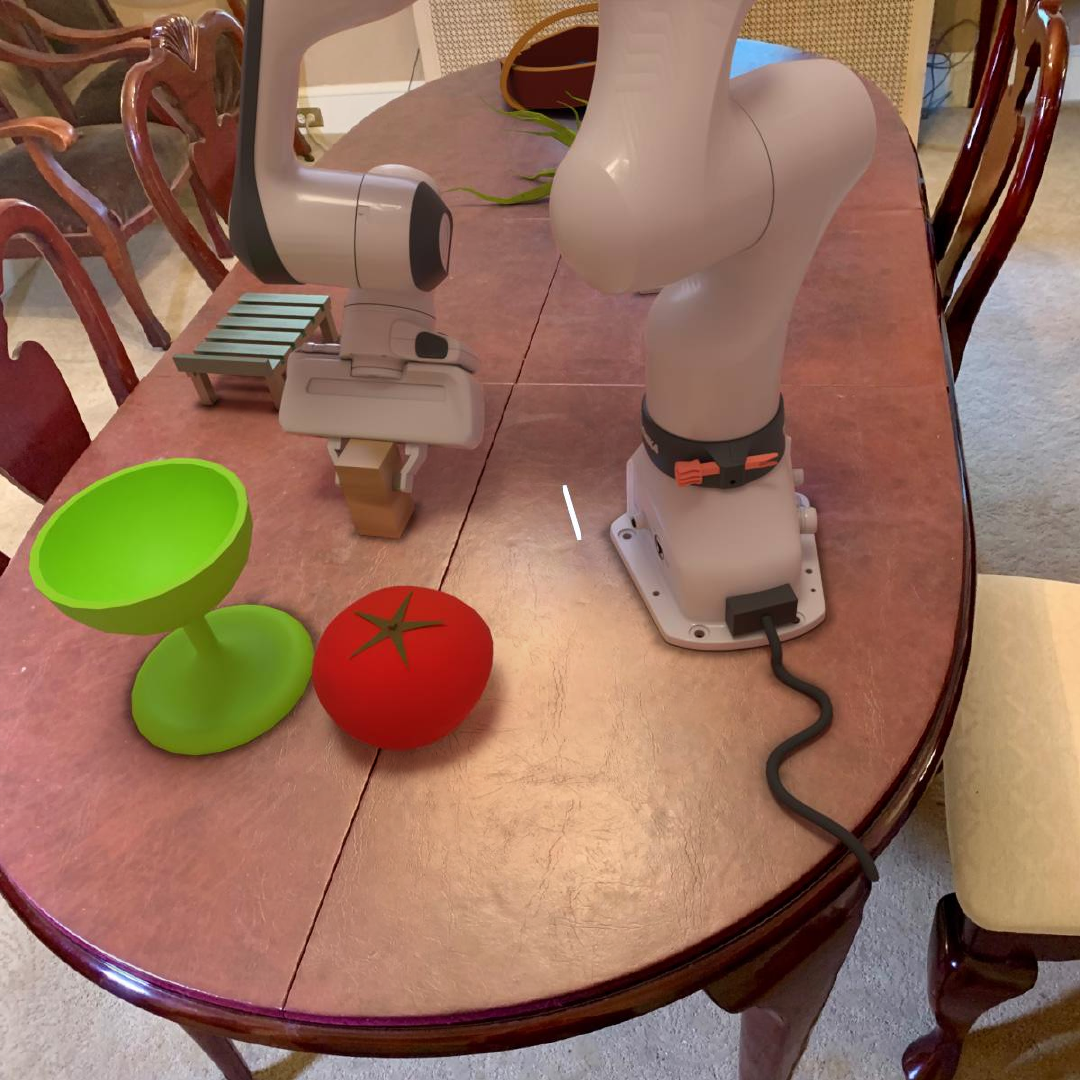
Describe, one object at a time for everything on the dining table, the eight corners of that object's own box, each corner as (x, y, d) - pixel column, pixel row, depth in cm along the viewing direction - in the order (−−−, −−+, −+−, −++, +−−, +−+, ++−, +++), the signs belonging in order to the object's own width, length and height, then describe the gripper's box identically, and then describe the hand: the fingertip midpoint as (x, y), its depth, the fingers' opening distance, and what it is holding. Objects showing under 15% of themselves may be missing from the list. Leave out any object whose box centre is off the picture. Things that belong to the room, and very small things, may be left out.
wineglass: (165, 610, 88) (78, 464, 76) (330, 602, 87) (270, 451, 74) (103, 758, 77) (-10, 614, 64) (292, 751, 75) (213, 603, 63)
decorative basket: (675, 69, 182) (671, -20, 173) (703, 98, 158) (700, -4, 150) (502, 96, 183) (490, 9, 175) (505, 129, 160) (490, 30, 151)
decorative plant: (491, 163, 155) (477, 68, 144) (658, 181, 142) (655, 79, 132) (432, 211, 144) (412, 112, 134) (607, 235, 132) (599, 128, 121)
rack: (285, 416, 109) (265, 362, 104) (195, 410, 112) (171, 357, 107) (342, 337, 120) (326, 284, 115) (259, 333, 123) (240, 281, 118)
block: (374, 504, 96) (352, 434, 90) (415, 508, 95) (395, 438, 89) (357, 534, 93) (333, 465, 87) (399, 539, 92) (378, 468, 86)
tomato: (319, 777, 73) (278, 698, 66) (343, 649, 82) (310, 567, 75) (500, 765, 72) (479, 684, 65) (504, 637, 81) (486, 552, 74)
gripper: (273, 334, 90) (259, 478, 90) (475, 343, 84) (461, 496, 85) (306, 348, 96) (293, 483, 96) (496, 357, 90) (483, 500, 91)
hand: (373, 489), depth 90 cm, fingers closed on block, 4 cm apart
